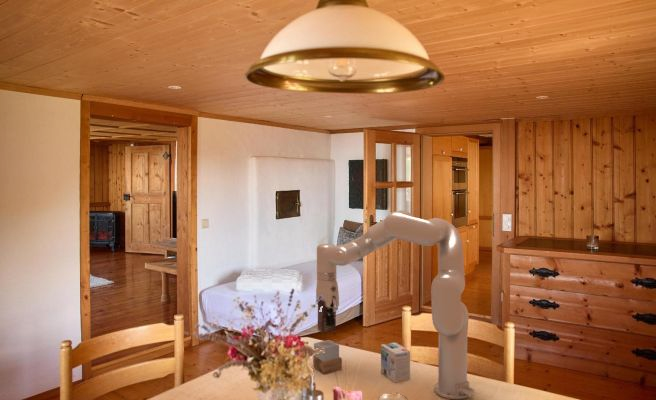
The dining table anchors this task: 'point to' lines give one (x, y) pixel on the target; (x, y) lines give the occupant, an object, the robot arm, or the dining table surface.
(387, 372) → the light bulb box
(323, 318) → the box
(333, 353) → the tower top
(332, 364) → the tower base
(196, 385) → the dining table surface
